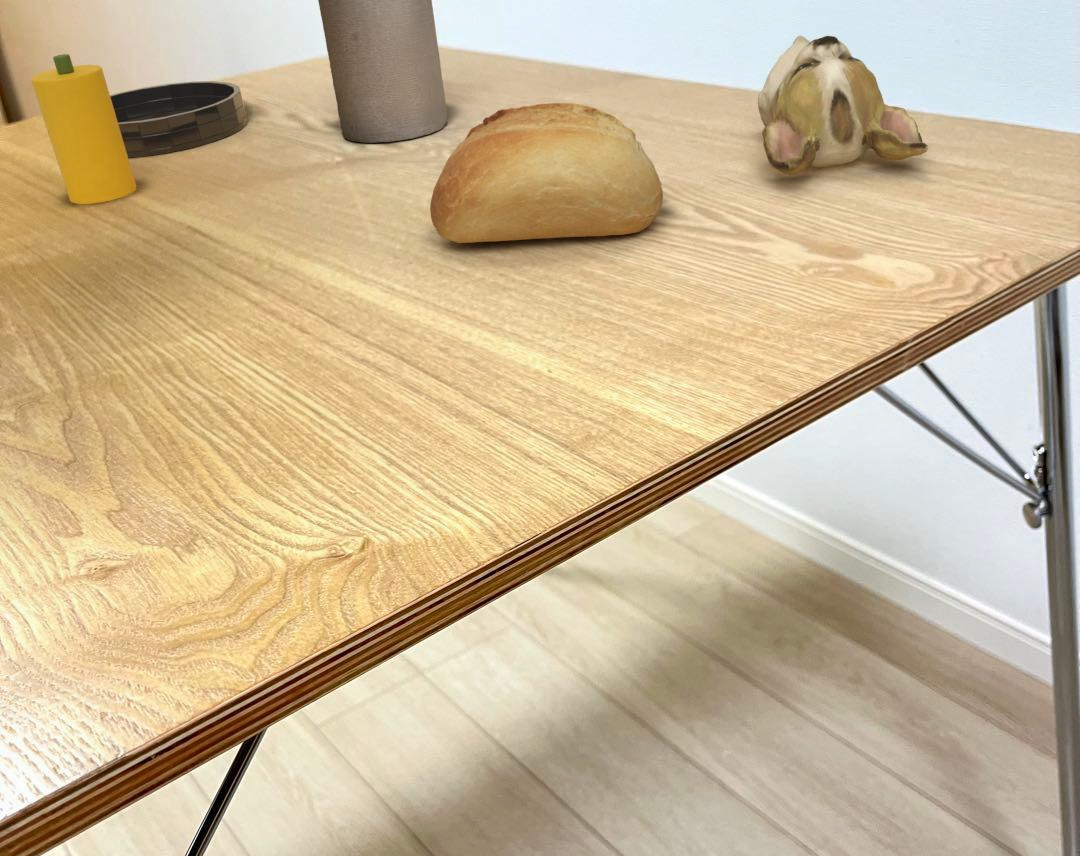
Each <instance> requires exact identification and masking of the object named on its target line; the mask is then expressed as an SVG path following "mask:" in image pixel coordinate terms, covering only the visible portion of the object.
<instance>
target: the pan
mask: <svg viewBox="0 0 1080 856" xmlns="http://www.w3.org/2000/svg"><path fill="white" fill-rule="evenodd" d="M110 97H111V101H112V104H113V108H114V111H115V115H116V118H117V121H118V125H119V128H120V132H121V135H122V139H123V142H124V145H125V149H126V152H127V156H128V159H133V158H143V157H152V156H157V155H163V154H170V153H175V152H179V151H184V150H189V149H193V148H197V147H201V146H204V145H207V144H210V143H215V142H217V141H220V140H222V139H225V138H227V137H230V136H231V135H233V134H236V133H238V132H239V131H241V130H242V129H243V128H244V127H246V125H247V123H248V117H247V114H246V109H245V103H244V100H243V96H242V91H241V87H240V85H237V84H235V83H232V82H228V81H227V82H226V81H218V80H217V81H216V80H203V81H202V80H198V81H197V80H195V81H183V82H173V83H164V84H159V85H158V84H157V85H151V86H145V87H140V88H135V89H130V90H126V91H120V92H116V93H113V94H110Z"/></svg>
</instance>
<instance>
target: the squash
mask: <svg viewBox="0 0 1080 856" xmlns="http://www.w3.org/2000/svg"><path fill="white" fill-rule="evenodd" d="M52 59H53V63H54V66H55V68H54V69H50V70H47V71H44V72H40V73H38V74H35V75H33V76H31V78H30V82H31V85H32V88H33V91H34V94H35V97H36V100H37V104H38V106H39V110H40V112H41V115H42V119H43V122H44V124H45V128H46V131H47V134H48V137H49V140H50V143H51V146H52V150H53V152H54V156H55V158H56V161H57V162H56V163H57V165H58V168H59V171H60V174H61V176H62V180H63V183H64V186H65V189H66V192H67V196H68V198H69V201H70V202H71V203H74V204H78V205H89V204H90V205H91V204H100V203H105V202H111V201H115V200H118V199H121V198H123V197H126V196H128V195H130V194H133V193H134V192H135V191H136V190H137V184H136V180H135V177H134V173H133V170H132V167H131V163H130V160H129V159H130V158H128V156H127V152H126V149H125V145H124V142H123V139H122V135H121V132H120V128H119V125H118V121H117V118H116V115H115V111H114V108H113V104H112V101H111V97H110V95H111V94H110V91H109V88H108V84H107V81H106V77H105V72H104V70H103V67H102V66H101V65H98V64H97V65H96V64H83V65H82V64H81V65H73V61H72V58H71V56H70V54H68V53H65V54H58V55H54V56H53V57H52Z"/></svg>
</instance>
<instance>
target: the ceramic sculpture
mask: <svg viewBox="0 0 1080 856" xmlns="http://www.w3.org/2000/svg"><path fill="white" fill-rule="evenodd" d="M757 108H758V113H759V116H760V119H761V122H762V124H763V126H764V128H763V130H762V132H761V133H762V138H763V142H762V145H763V149H764V152H765V156H766V158H767V161H768V162H769V164H770V165H771V167H772V168H774V169H775V170H776V171H779V172H781V173H783V174H785V175H794V174H797V173H799V172H802V171H804V170H806V169H807V168H809V167H814V168H828V167H833V166H834V167H835V166H841V165H844V164H848V163H851V162H854V161H855V160H857V159H858V158H860V157H861V156H862V155H863V154H865V153H866V152H867V151H868V150H869V149H871V150H872V151H874V153H875V154H876V155H877V156H879V157H880V158H882V159H884V160H887V161H902V160H906V159H909V158H912V157H915V156H916V157H917V156H921V155H923V154H926V153H927V152H928V150H929V145H928V144H927V143H925V142H923V138H922V135H921V133H920V132H919V126H918V124H917V123H916V120H915V119H914V118H913V117H911V116H909V114H908V113H907V111H906V109H905V108H903V107H898V106H893V105H892V106H891V105H888V104H885V101H884V98H883V94H882V92H881V90H880V87H879V84H878V81H877V78H876V76H875V74H874V73H873V71H871V70H870V69H869V68H868V67H867V66H866V64H865V63H864V62H863V60H861V59H859V58H856V57H854V56H852V54H851V52H850V50H849V48H848V46H847V45H845V43H843V42H842V41H841V40H839V39H838V38H837V37H836V36H835V35H834V36H833V35H825V36H822V37H819V38H815V39H812V40H811V41H809V40H808V39H807V38H806V37H805V36H802V35H798V36H797V37H796V38H794V41H793V42H792V44H791V45H790V46H789V47H788V48H787V49H786V50H785V51H784V52H783V53H782V54H781V55H780V56H779V57H778V59H777V61H776V62H775V63H774V65H773V66H772V68H771V69H770V71H769V73H768V75H767V77H766V79H765V82H764V85H763V87H762V89H761V91H760V92H759V93H758V95H757Z"/></svg>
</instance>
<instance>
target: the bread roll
mask: <svg viewBox="0 0 1080 856" xmlns="http://www.w3.org/2000/svg"><path fill="white" fill-rule="evenodd" d="M655 167H656V166H655V165H654V163H653V161H652V160H651V159H650V157H649V155H647V153H646V152H645V150H644V147H643V145H642V142H641V141H639V140H637V137H636V133H635V132H634V130H632V129H630V128H629V127H627V126H626V125H624V123H623V121H621V120H619V119H618V118H617V117H616V116H614V115H612V114H611V113H607V112H605V111H604V110H601V109H599V108H595V107H592V106H589V105H585V104H579V103H569V102H566V103H565V102H558V103H557V102H552V103H550V102H549V103H538V104H533V105H532V104H531V105H523V106H520V107H517V108H516V107H515V108H514V107H510V108H505V109H503V108H502V109H499V110H497V111H496V112H494V113H492V114H491V115H489V116H487V117H484V119H483V120H482V123H479V124H478V125H476V126H474V127H471V129H469V131H468V133H467V135H466V137H465V138H464V139H463V141H462V142H460V143H459V144H458V145H457V147H456V148H455V149H454V150H453V152H452V153H451V154H450V156H449V157H447V160H446V162H445V164H444V167H443V169H442V171H441V173H440V175H439V177H438V179H437V181H436V183H435V185H434V187H433V191H432V195H431V198H430V199H431V200H430V206H429V211H430V218H431V223H432V225H433V227H434V228H435V231H436V233H437V234H438V235H439V236H440V238H441V239H443V240H448V241H451V242H454V243H457V244H465V243H468V244H469V243H470V244H471V243H484V242H505V241H508V242H509V241H521V240H523V241H524V240H536V239H558V238H573V237H579V238H580V237H607V236H622V235H629V234H636V233H639V232H642V231H643V230H645V229H646V228H648V227H649V226H651V224H652V223H653V222H654V221H655V219H656V218H657V216H658V215H659V214H660V213H661V209H662V205H663V200H664V190H663V186H662V182H661V179H660V177H659V174H658V173H657V170H656V168H655Z"/></svg>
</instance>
